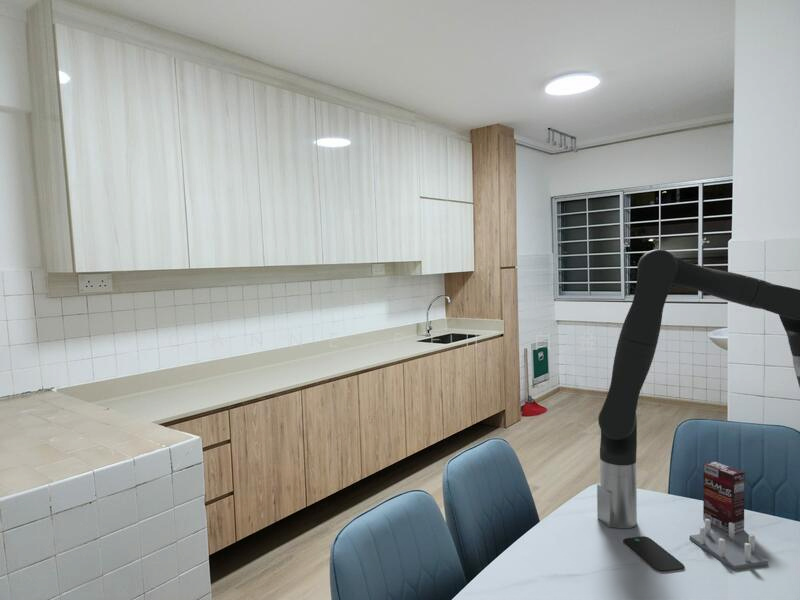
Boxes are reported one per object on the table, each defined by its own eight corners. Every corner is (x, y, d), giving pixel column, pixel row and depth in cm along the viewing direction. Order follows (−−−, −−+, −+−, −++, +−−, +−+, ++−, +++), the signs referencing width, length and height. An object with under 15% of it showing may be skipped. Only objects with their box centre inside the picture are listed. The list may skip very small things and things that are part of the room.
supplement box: (702, 520, 142) (702, 463, 141) (714, 516, 144) (714, 460, 143) (733, 535, 134) (733, 474, 133) (745, 530, 136) (745, 471, 135)
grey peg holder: (733, 570, 119) (733, 548, 118) (688, 539, 132) (688, 520, 132) (768, 564, 120) (768, 543, 120) (721, 534, 134) (721, 516, 134)
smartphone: (647, 535, 134) (688, 567, 119) (647, 538, 134) (688, 571, 119) (620, 538, 133) (658, 571, 118) (620, 542, 133) (658, 575, 118)
